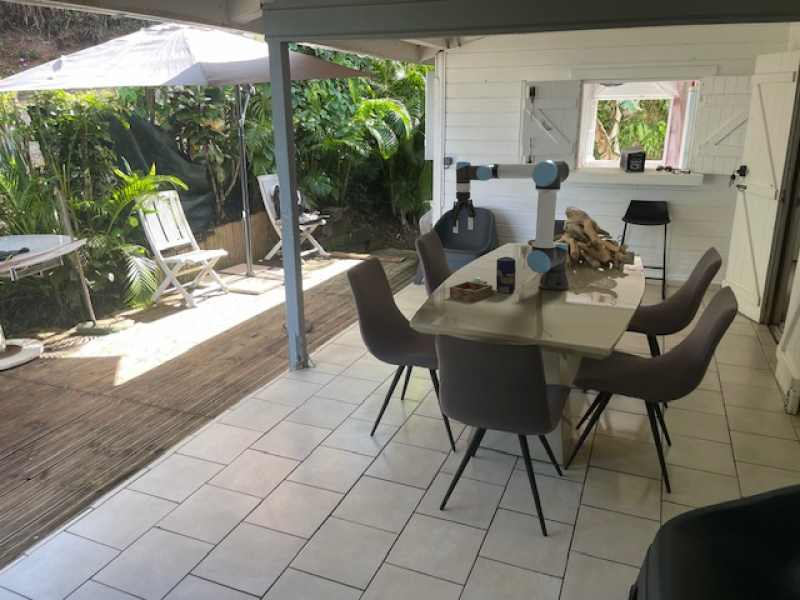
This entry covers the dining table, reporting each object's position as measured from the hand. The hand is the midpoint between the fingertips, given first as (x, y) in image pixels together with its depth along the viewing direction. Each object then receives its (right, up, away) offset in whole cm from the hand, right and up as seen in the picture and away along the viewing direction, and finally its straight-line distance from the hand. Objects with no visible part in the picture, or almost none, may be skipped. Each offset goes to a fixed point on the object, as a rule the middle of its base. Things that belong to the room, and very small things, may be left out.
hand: (463, 231), depth 329 cm
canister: (+19, -33, -20) cm, 43 cm away
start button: (+6, -29, -13) cm, 33 cm away
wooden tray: (+2, -35, -26) cm, 43 cm away
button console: (+6, -31, -12) cm, 34 cm away
